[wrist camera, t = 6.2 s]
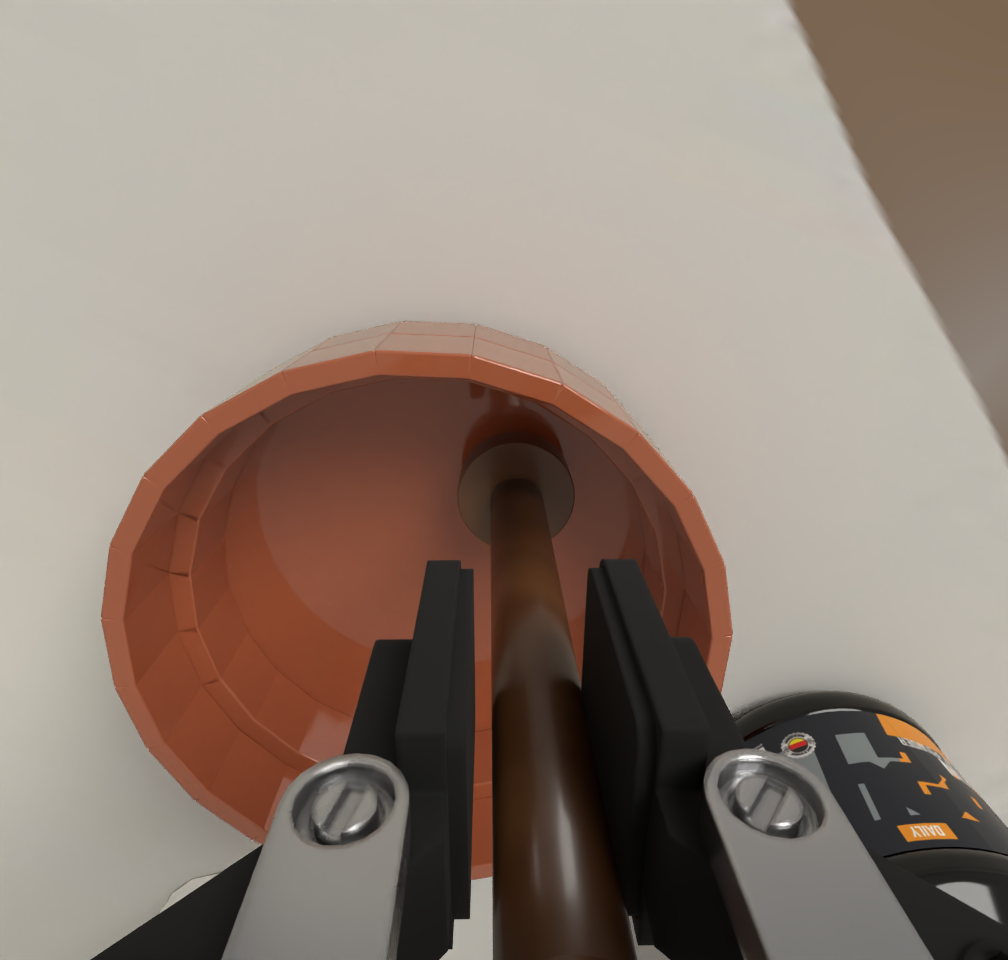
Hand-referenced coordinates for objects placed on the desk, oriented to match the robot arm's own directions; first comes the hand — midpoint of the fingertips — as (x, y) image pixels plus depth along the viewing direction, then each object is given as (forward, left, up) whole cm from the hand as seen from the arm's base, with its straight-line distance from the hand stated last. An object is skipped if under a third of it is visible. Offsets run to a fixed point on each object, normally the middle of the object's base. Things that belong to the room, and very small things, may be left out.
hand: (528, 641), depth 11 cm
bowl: (+2, -5, -12) cm, 13 cm away
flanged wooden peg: (+1, -1, -11) cm, 11 cm away
